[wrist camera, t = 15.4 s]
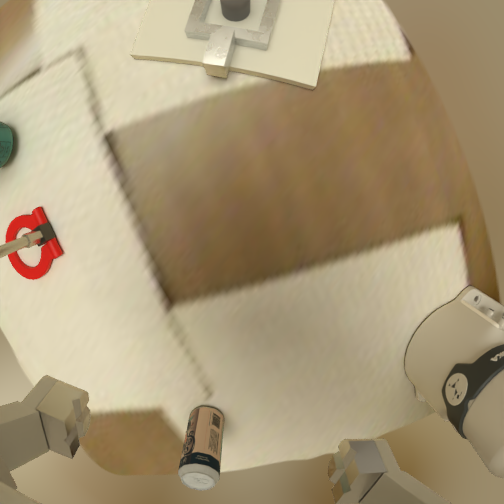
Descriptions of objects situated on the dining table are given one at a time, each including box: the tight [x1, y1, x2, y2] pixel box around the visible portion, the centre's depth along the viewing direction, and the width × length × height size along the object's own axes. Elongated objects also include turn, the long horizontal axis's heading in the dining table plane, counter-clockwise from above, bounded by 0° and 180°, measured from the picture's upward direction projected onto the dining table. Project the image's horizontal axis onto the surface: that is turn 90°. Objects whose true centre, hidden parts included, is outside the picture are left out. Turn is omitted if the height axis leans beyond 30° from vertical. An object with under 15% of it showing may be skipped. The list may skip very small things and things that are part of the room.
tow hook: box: [0, 207, 63, 280], centre depth 29 cm, size 8×13×9 cm
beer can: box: [178, 407, 224, 490], centre depth 35 cm, size 5×5×12 cm
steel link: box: [184, 0, 280, 78], centre depth 26 cm, size 12×8×4 cm
